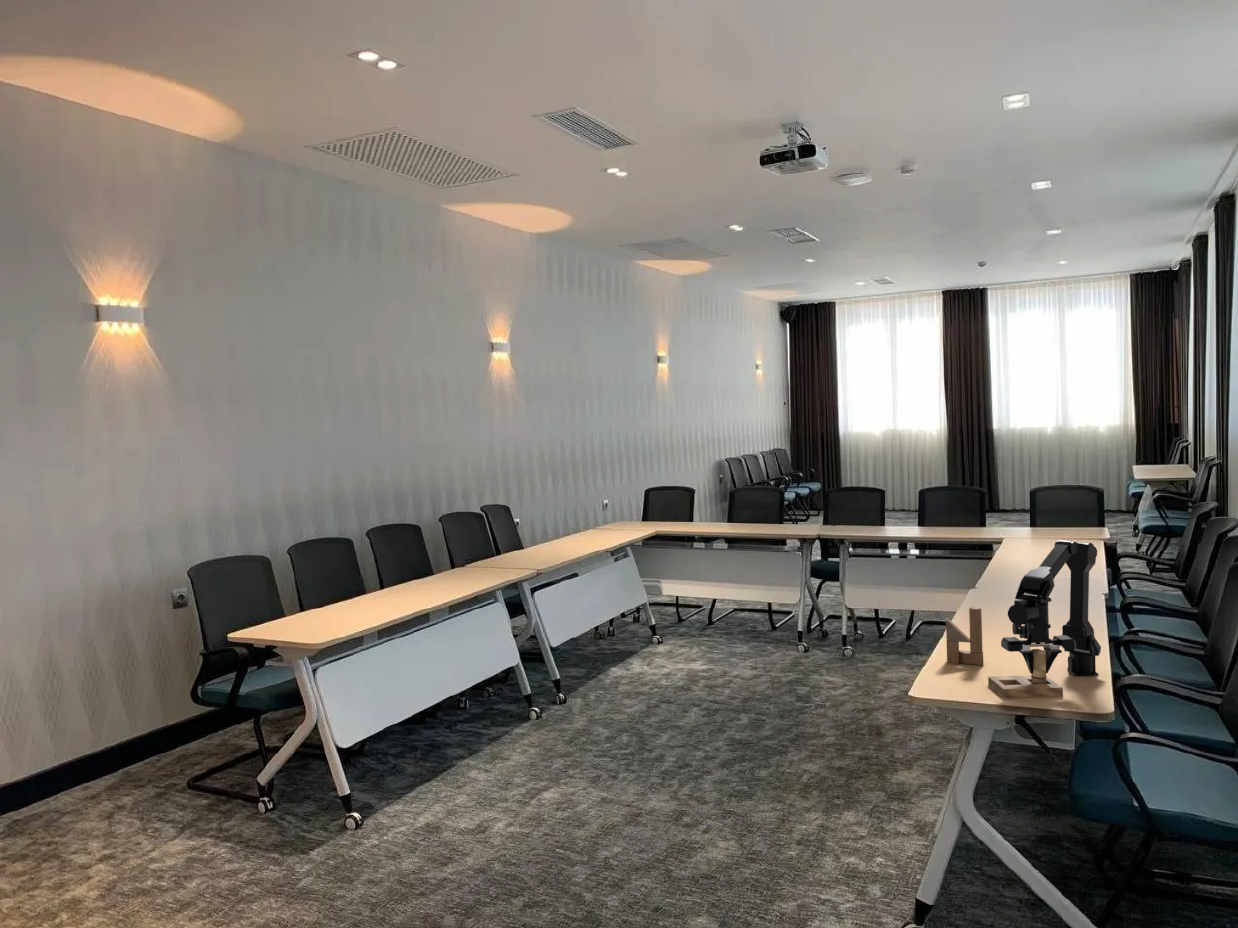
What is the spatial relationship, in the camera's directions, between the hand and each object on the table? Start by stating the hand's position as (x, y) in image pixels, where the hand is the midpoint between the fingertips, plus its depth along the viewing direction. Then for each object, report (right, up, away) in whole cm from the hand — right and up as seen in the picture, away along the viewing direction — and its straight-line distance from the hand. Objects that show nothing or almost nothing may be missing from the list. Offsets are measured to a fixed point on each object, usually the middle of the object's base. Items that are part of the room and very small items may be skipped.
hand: (1038, 673), depth 248 cm
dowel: (0, -4, 0) cm, 4 cm away
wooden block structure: (-9, -4, +30) cm, 31 cm away
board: (-4, -5, 0) cm, 6 cm away
